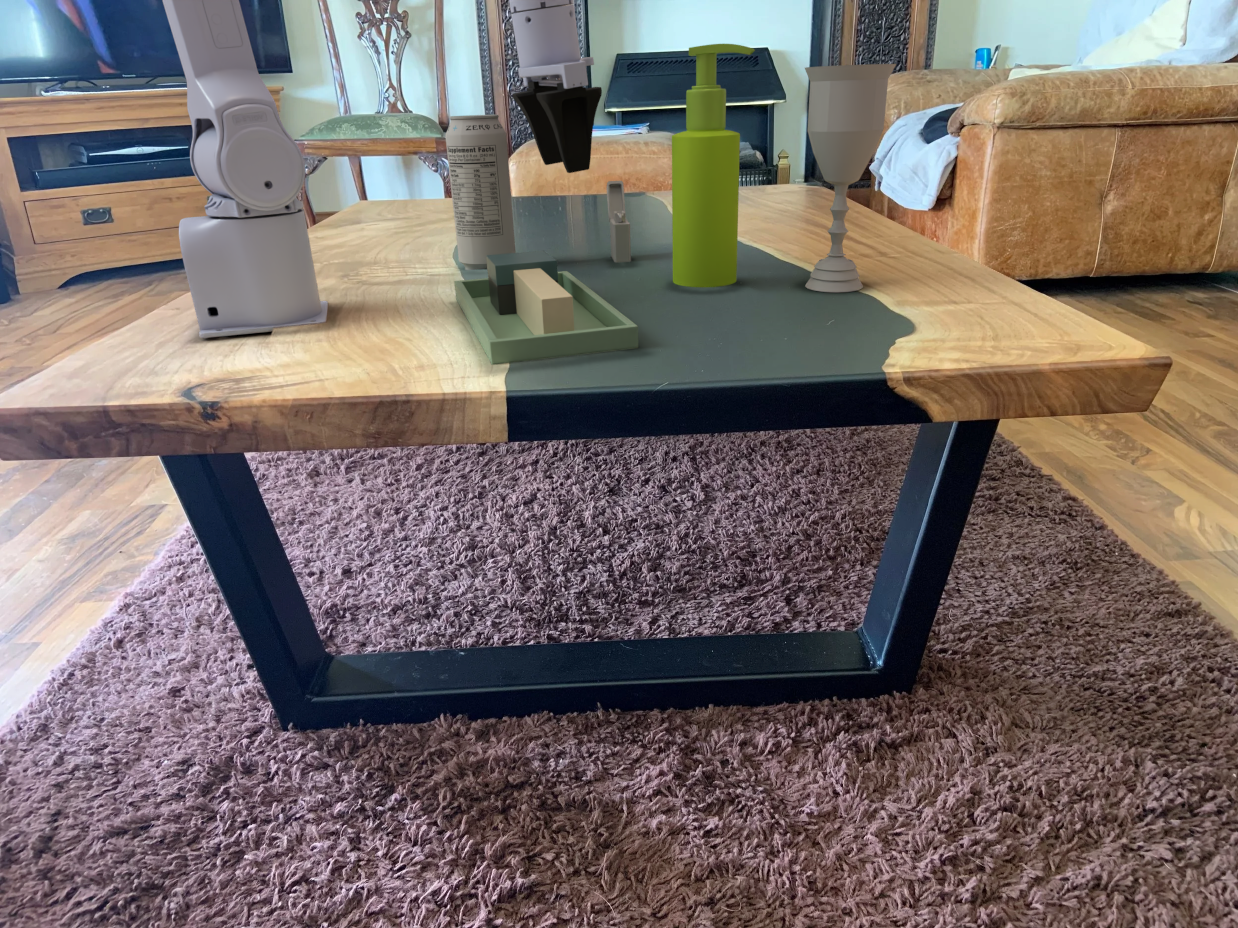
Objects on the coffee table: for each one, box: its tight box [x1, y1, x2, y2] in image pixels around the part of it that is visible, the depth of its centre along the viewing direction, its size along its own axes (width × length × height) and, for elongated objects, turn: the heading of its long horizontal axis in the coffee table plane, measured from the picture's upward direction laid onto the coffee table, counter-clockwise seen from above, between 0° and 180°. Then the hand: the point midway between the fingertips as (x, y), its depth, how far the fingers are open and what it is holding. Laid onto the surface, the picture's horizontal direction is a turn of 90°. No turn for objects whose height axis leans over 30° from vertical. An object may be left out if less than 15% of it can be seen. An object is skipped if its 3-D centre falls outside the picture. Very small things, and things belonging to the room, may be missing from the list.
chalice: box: [804, 63, 897, 293], centre depth 72 cm, size 7×7×18 cm
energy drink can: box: [444, 114, 517, 271], centre depth 86 cm, size 6×6×15 cm
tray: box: [453, 270, 639, 366], centre depth 65 cm, size 21×10×2 cm, turn 17°
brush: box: [486, 250, 574, 335], centre depth 64 cm, size 16×5×4 cm, turn 17°
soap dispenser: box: [671, 43, 756, 288], centre depth 73 cm, size 6×7×20 cm
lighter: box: [606, 180, 632, 263], centre depth 89 cm, size 7×2×8 cm, turn 6°
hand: (566, 167), depth 81 cm, fingers open, 7 cm apart
